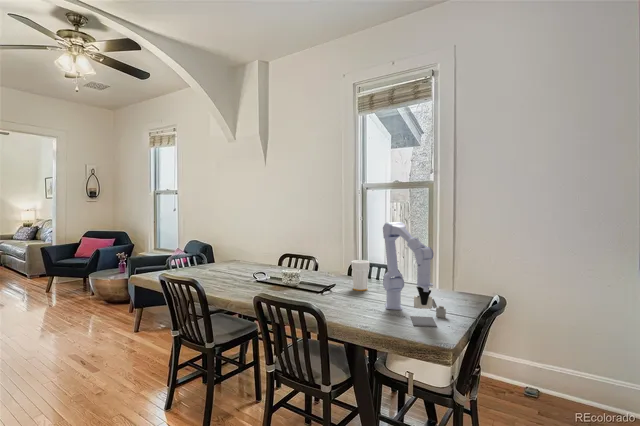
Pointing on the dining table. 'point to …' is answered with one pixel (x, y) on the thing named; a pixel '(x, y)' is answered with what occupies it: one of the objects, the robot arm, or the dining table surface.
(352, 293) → the dining table surface
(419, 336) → the dining table surface
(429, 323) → the mat
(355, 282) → the cup
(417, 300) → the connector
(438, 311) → the lighter
